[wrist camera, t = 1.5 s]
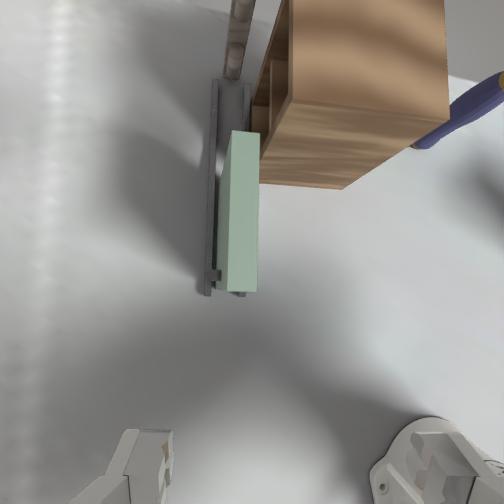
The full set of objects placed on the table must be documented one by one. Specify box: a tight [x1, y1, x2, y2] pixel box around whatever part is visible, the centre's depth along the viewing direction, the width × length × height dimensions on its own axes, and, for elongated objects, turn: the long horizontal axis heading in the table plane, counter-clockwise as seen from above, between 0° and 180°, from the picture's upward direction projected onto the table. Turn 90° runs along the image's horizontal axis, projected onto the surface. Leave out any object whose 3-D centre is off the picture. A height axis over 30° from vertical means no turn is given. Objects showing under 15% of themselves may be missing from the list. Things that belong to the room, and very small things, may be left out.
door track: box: [204, 79, 250, 297], centre depth 42 cm, size 30×5×1 cm, turn 179°
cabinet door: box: [211, 130, 260, 292], centre depth 34 cm, size 15×4×16 cm, turn 179°
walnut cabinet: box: [223, 0, 450, 190], centre depth 35 cm, size 16×18×20 cm
